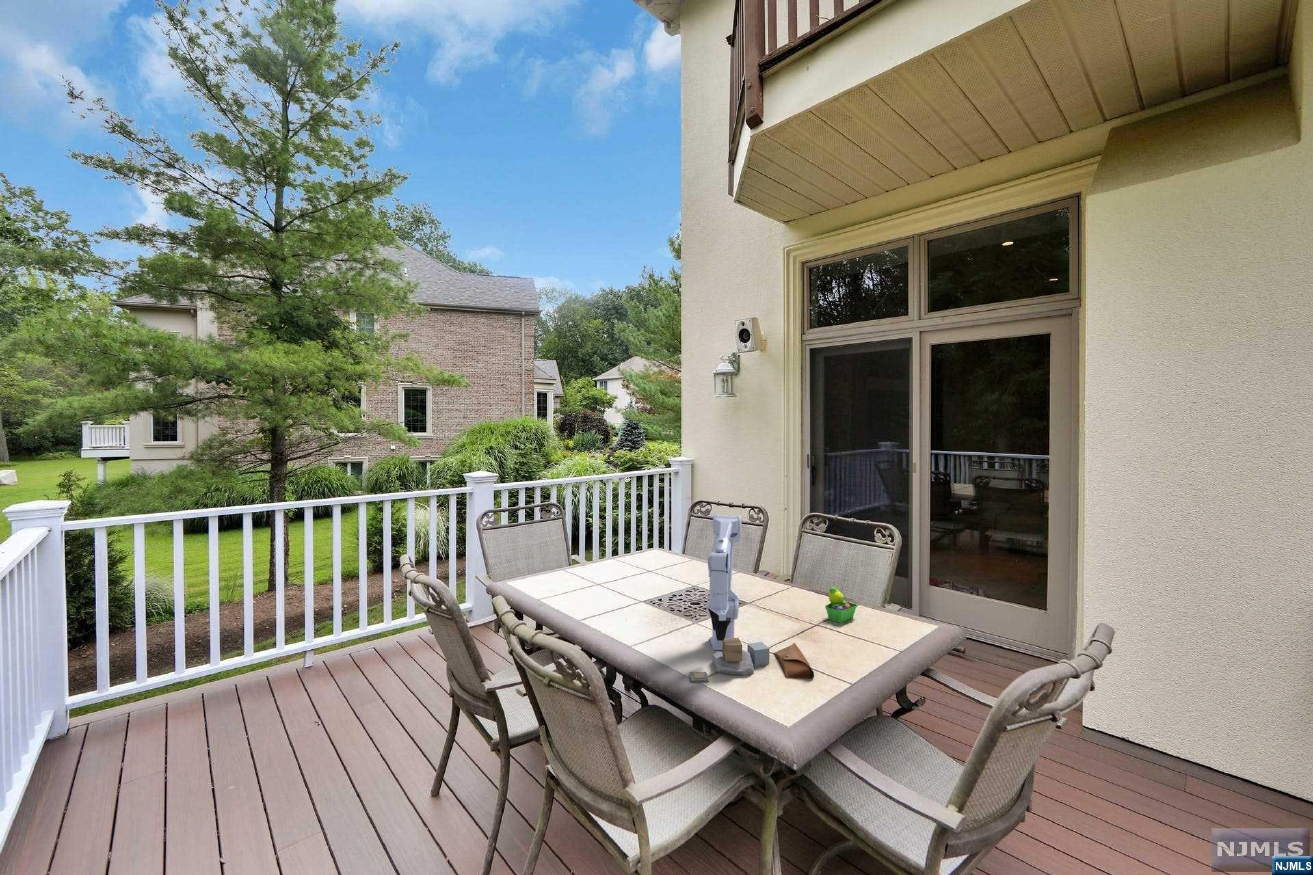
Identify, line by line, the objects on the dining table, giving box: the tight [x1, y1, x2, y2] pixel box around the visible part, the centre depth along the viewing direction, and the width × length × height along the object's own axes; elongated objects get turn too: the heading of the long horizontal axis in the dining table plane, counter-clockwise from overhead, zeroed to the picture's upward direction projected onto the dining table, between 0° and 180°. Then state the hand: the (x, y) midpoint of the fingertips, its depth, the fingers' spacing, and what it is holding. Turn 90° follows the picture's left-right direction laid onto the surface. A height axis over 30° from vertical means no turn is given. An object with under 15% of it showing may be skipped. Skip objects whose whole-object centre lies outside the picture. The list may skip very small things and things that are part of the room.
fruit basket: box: [824, 586, 858, 624], centre depth 200 cm, size 11×9×11 cm
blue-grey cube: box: [746, 641, 770, 667], centre depth 164 cm, size 5×5×5 cm
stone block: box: [711, 649, 755, 676], centre depth 159 cm, size 12×5×10 cm
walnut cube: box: [721, 637, 743, 662], centre depth 158 cm, size 5×5×5 cm
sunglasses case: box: [773, 642, 815, 680], centre depth 162 cm, size 18×7×7 cm
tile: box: [689, 671, 710, 683], centre depth 153 cm, size 5×5×1 cm
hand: (718, 634), depth 161 cm, fingers open, 7 cm apart
